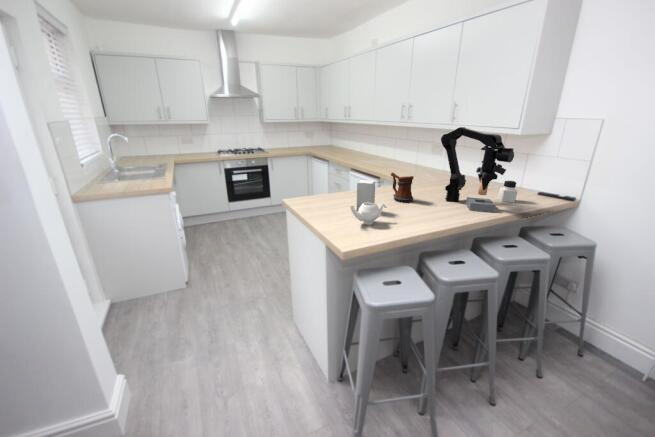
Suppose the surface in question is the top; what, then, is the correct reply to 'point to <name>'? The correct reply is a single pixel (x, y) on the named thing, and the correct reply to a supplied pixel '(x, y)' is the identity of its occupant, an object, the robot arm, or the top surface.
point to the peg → (481, 191)
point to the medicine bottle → (508, 192)
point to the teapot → (368, 212)
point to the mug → (403, 188)
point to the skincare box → (365, 192)
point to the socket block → (480, 204)
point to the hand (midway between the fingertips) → (483, 188)
